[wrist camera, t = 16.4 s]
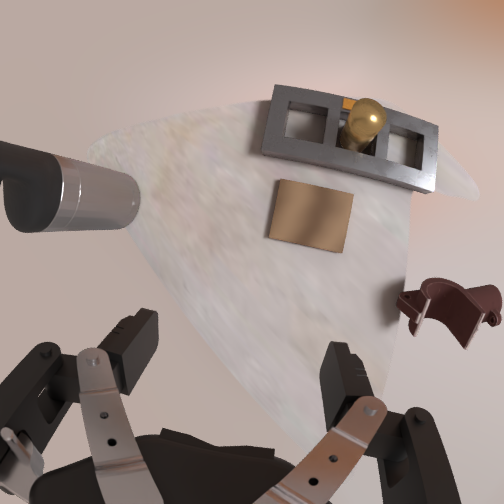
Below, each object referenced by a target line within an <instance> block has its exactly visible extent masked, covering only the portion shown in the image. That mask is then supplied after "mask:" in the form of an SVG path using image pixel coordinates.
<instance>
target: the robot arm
mask: <svg viewBox="0 0 504 504" xmlns="http://www.w3.org/2000/svg"><path fill="white" fill-rule="evenodd" d="M2 180H3V192H4V206H5V211H6V215H7V217H8V220H9V222H10V223H11V225H12V226H13V227H14V228H15V229H16V230H18V231H20V232H25V233H32V232H53V231H54V232H55V231H80V230H113V229H121V228H124V227H126V226H127V225H129V224H130V223H131V222H132V221H133V219H134V218H135V216H136V214H137V212H138V209H139V205H140V192H139V188H138V185H137V183H136V182H135V180H134V179H133V178H132V177H131V176H129V175H127V174H125V173H121V172H118V171H114V170H111V169H108V168H104V167H100V166H97V165H93V164H90V163H86V162H82V161H78V160H74V159H71V158H66V157H62V156H59V155H55V154H51V153H47V152H43V151H38V150H35V149H31V148H26V147H23V146H19V145H14V144H10V143H7V142H3V141H0V184H1V181H2ZM158 339H159V335H158V313H157V312H156V311H153V310H149V309H145V308H141V309H140V310H139V311H138V312H137V313H136V315H135V316H128V317H126V318H124V319H122V320H121V321H120V322H119V323H118V324H117V325H116V327H114V329H113V330H112V332H110V333H109V334H108V335H107V336H106V338H105V339H104V340H103V341H102V342H101V344H100V345H99V346H98V347H97V348H87V349H84V350H83V351H81V352H80V353H79V354H78V356H74V355H66V354H61V350H60V347H59V346H58V345H57V344H55V343H52V342H44V343H40V344H38V345H37V346H35V347H34V348H33V349H32V350H31V351H30V352H29V354H28V355H26V357H25V358H24V359H23V360H22V361H21V362H20V363H19V364H18V365H17V366H16V367H15V368H14V370H13V371H12V372H11V373H10V374H9V375H8V376H7V377H6V378H5V380H4V381H3V382H2V383H1V384H0V489H1V490H2V491H4V492H5V493H7V494H10V495H16V496H18V497H19V498H21V499H22V500H24V501H25V502H27V503H28V504H332V503H331V502H330V501H329V499H330V498H331V497H332V496H333V494H334V493H335V492H336V490H337V489H338V488H339V487H340V485H341V484H342V483H343V482H344V480H345V479H346V478H347V476H348V475H349V474H350V472H351V471H352V469H353V468H354V467H355V465H356V464H357V462H358V461H359V459H360V458H361V456H362V455H366V456H370V457H375V458H377V462H378V469H379V475H380V482H381V489H382V497H383V504H461V501H460V497H459V493H458V490H457V486H456V483H455V479H454V476H453V473H452V470H451V466H450V463H449V460H448V458H447V454H446V452H445V449H444V446H443V443H442V440H441V438H440V435H439V432H438V430H437V427H436V424H435V422H434V419H433V417H432V415H431V414H430V413H429V412H428V411H427V410H425V409H423V408H419V407H413V408H410V409H408V411H407V412H406V413H405V415H403V414H399V413H395V412H391V411H388V410H387V407H386V405H385V404H384V403H383V402H382V401H381V400H380V399H378V398H376V397H374V394H373V391H372V388H371V385H370V382H369V379H368V377H367V374H366V371H365V368H364V365H363V362H362V360H361V359H360V358H359V357H358V356H357V355H356V354H351V353H350V350H349V347H348V344H347V343H344V342H334V341H331V342H330V343H329V346H328V348H327V351H326V354H325V357H324V360H323V363H322V365H321V369H320V377H319V378H320V386H321V392H322V399H323V407H324V414H325V422H326V429H327V432H328V433H327V434H326V435H325V436H324V437H323V439H322V440H321V441H320V442H319V443H318V444H317V445H316V446H315V447H314V448H313V449H312V451H311V452H310V453H309V454H308V455H307V456H306V457H305V458H304V459H303V460H302V461H301V462H300V463H299V464H298V465H297V466H296V467H295V466H294V465H292V464H291V463H289V462H287V461H285V460H283V459H281V458H278V457H275V456H274V452H275V449H271V448H262V447H253V446H223V447H218V446H214V445H211V444H209V443H207V442H204V441H202V440H200V439H197V438H195V437H193V436H191V435H188V434H184V433H180V432H176V431H172V430H169V429H165V428H162V431H161V433H160V435H143V436H138V437H134V435H133V432H132V429H131V426H130V424H129V421H128V418H127V415H126V413H125V409H124V406H123V403H122V400H121V397H120V393H122V394H125V395H128V396H129V395H130V393H131V391H132V389H133V388H134V386H135V385H136V383H137V381H138V379H139V378H140V376H141V374H142V373H143V371H144V369H145V368H146V366H147V364H148V363H149V361H150V359H151V358H152V356H153V354H154V353H155V351H156V349H157V346H158ZM44 388H45V389H44ZM43 389H44V390H43ZM42 390H43V391H42ZM41 392H42V393H41ZM40 393H41V394H40ZM39 394H40V395H39ZM38 396H39V397H38ZM73 402H75V403H80V404H81V410H82V415H83V420H84V425H85V429H86V434H87V439H88V443H89V447H90V451H91V454H92V456H90V457H88V458H85V459H83V460H80V461H77V462H75V463H72V464H70V465H67V466H64V467H61V468H58V469H55V470H53V471H50V472H47V473H45V474H43V468H44V460H43V457H42V455H41V454H42V453H43V451H44V449H45V448H46V446H47V444H48V442H49V441H50V439H51V437H52V436H53V434H54V432H55V431H56V429H57V427H58V426H59V424H60V422H61V421H62V419H63V417H64V416H65V414H66V413H67V411H68V409H69V408H70V406H71V405H72V403H73Z"/></svg>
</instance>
